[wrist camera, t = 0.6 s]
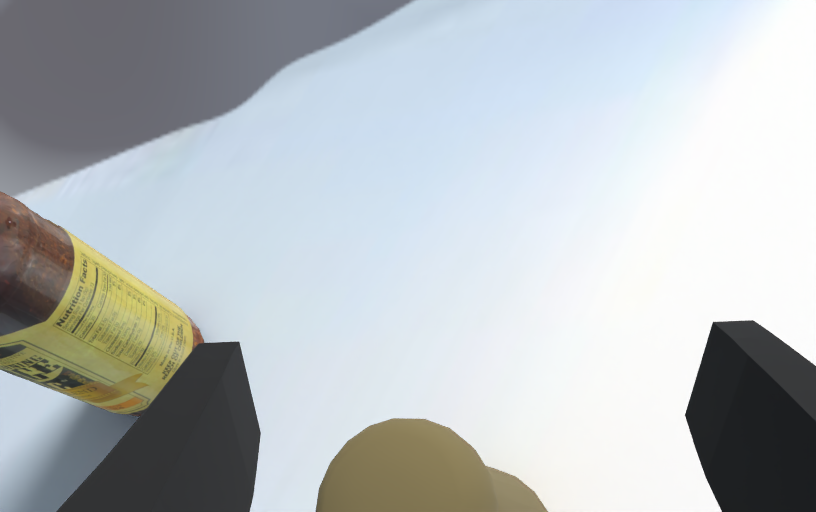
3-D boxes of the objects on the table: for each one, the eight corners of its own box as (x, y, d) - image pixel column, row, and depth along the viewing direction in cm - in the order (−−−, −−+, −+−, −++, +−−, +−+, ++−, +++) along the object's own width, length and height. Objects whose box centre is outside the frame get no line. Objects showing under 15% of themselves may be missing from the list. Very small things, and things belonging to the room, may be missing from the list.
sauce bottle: (92, 392, 36) (-376, 200, 20) (159, 297, 38) (-220, 47, 22) (167, 447, 33) (-316, 271, 17) (237, 340, 35) (-139, 85, 18)
